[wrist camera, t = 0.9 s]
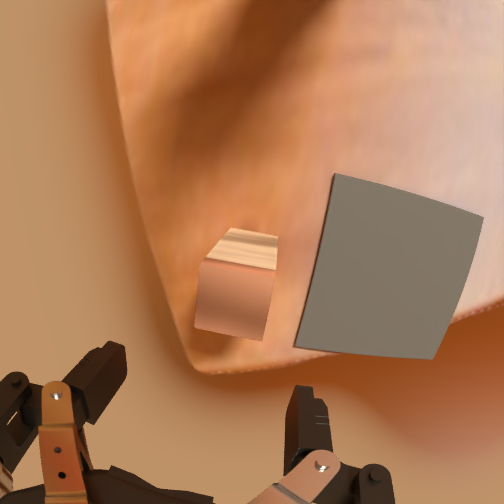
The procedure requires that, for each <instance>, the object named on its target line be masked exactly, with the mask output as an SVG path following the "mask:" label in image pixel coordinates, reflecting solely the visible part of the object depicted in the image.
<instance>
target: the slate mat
mask: <svg viewBox="0 0 504 504" xmlns="http://www.w3.org/2000/svg"><path fill="white" fill-rule="evenodd" d="M483 219H484V217H481V216H479V215H476V214H473V213H470V212H468V211H465V210H462V209H459V208H456V207H454V206H451V205H448V204H445V203H442V202H439V201H436V200H432V199H429V198H426V197H423V196H420V195H416V194H413V193H410V192H406V191H403V190H399V189H396V188H392V187H388V186H385V185H381V184H377V183H373V182H370V181H366V180H362V179H357V178H353V177H349V176H345V175H341V174H336V173H335V174H334V179H333V185H332V190H331V195H330V200H329V205H328V210H327V215H326V220H325V224H324V229H323V234H322V238H321V243H320V247H319V252H318V256H317V260H316V265H315V269H314V273H313V277H312V281H311V285H310V289H309V293H308V297H307V301H306V305H305V309H304V312H303V316H302V320H301V323H300V327H299V331H298V334H297V338H296V341H295V346H297V347H304V348H311V349H318V350H326V351H334V352H342V353H351V354H361V355H372V356H383V357H396V358H412V359H433V358H434V355H435V354H436V352H437V349H438V347H439V345H440V343H441V341H442V339H443V337H444V334H445V333H446V330H447V328H448V326H449V323H450V321H451V319H452V316H453V314H454V312H455V309H456V307H457V304H458V301H459V299H460V296H461V293H462V291H463V288H464V285H465V282H466V279H467V276H468V273H469V270H470V267H471V264H472V261H473V257H474V254H475V251H476V247H477V243H478V240H479V236H480V232H481V228H482V223H483Z"/></svg>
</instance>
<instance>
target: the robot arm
mask: <svg viewBox="0 0 504 504" xmlns="http://www.w3.org/2000/svg"><path fill="white" fill-rule="evenodd" d="M126 375H127V363H126V353H125V347H124V346H123V345H121V344H118V343H115V342H112V341H108V342H107V343H106V344H105V345H104V346H103V347H102V348H99V347H97V348H95V349H93V350H91V351H89V352H88V353H87V354H86V355H85V356H84V358H83V359H82V360H81V361H80V362H79V364H77V365H76V366H75V367H74V368H73V369H72V370H71V371H70V372H69V373H68V374H67V376H66V377H65V378H64V379H63V380H62V381H52V382H49V383H47V384H46V385H45V386H41V385H37V384H33V383H30V382H29V380H28V377H27V376H26V375H25V374H24V373H22V372H12V373H9V374H8V375H7V376H6V377H5V378H4V379H3V380H2V381H1V382H0V504H215V503H213V497H211V496H206V495H202V494H198V493H194V492H189V491H181V490H168V489H159V488H156V487H155V486H153V485H151V484H149V483H148V482H146V481H144V480H143V479H141V478H140V477H138V476H136V475H135V474H132V473H130V472H127V471H125V470H122V469H120V468H117V467H115V466H112V465H111V467H110V469H109V470H102V469H97V470H96V469H94V468H93V465H92V463H91V460H90V456H89V452H88V448H87V443H86V438H85V433H84V428H83V425H84V424H85V422H88V423H90V424H92V425H94V424H95V423H96V421H97V420H98V418H99V417H100V415H101V414H102V412H103V411H104V410H105V408H106V406H107V405H108V404H109V402H110V401H111V399H112V398H113V396H114V395H115V394H116V392H117V391H118V389H119V388H120V386H121V385H122V383H123V382H124V380H125V378H126ZM16 411H17V414H16V415H15V416H14V418H13V419H12V420H11V421H10V423H9V424H8V425H7V423H8V421H9V420H10V419H11V417H12V416H13V415H14V414H15V412H16ZM38 433H39V446H40V456H41V465H42V472H43V479H44V484H41V485H37V486H34V487H30V488H26V489H21V490H17V491H13V486H12V485H13V478H12V476H11V474H12V473H13V471H14V470H15V468H16V466H17V465H18V463H19V462H20V460H21V458H22V457H23V456H24V454H25V453H26V451H27V450H28V448H29V447H30V445H31V444H32V442H33V441H34V439H35V438H36V436H37V435H38ZM283 475H284V476H285V477H284V478H283V479H282V480H281V481H279V482H278V483H274V484H272V485H271V486H269V487H268V488H267V489H265V490H264V491H263V492H262V493H261V494H259V495H258V496H257V497H256V498H255V499H253V500H252V501H250V502H249V503H248V504H311V503H312V502H313V503H316V504H395V499H394V492H393V485H392V480H391V475H390V472H389V471H388V470H387V469H386V468H385V467H384V466H382V465H379V464H368V465H366V466H364V467H363V468H362V469H360V468H356V467H352V466H348V465H345V464H343V463H342V462H340V461H339V458H338V457H337V456H336V455H335V454H334V453H333V447H332V440H331V432H330V425H329V418H328V409H327V406H326V405H325V403H324V402H323V400H322V399H317V398H314V395H313V388H312V387H309V386H300V385H296V386H295V388H294V391H293V393H292V396H291V399H290V402H289V405H288V407H287V411H286V418H285V448H284V474H283Z"/></svg>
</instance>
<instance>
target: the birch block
mask: <svg viewBox="0 0 504 504" xmlns="http://www.w3.org/2000/svg"><path fill="white" fill-rule="evenodd" d="M277 246H278V236H275V235H270V234H264V233H259V232H253V231H248V230H242V229H236V228H230V229H229V230H228V231H227V233H226V234H225V235H224V236H223V237H222V238H221V240H220V241H219V242H218V243H217V244H216V245H215V247H214V248H213V249H212V250H211V251H210V252H209V254H208V255H207V256H206V257H205V258H204V260H203V261H202V262H201V263H200V269H199V279H198V289H197V300H196V311H195V324H194V328H198V329H203V330H207V331H212V332H216V333H221V334H226V335H231V336H236V337H241V338H246V339H252V340H257V341H262V339H263V334H264V330H265V325H266V320H267V316H268V311H269V306H270V302H271V297H272V292H273V287H274V282H275V276H276V261H277Z"/></svg>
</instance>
